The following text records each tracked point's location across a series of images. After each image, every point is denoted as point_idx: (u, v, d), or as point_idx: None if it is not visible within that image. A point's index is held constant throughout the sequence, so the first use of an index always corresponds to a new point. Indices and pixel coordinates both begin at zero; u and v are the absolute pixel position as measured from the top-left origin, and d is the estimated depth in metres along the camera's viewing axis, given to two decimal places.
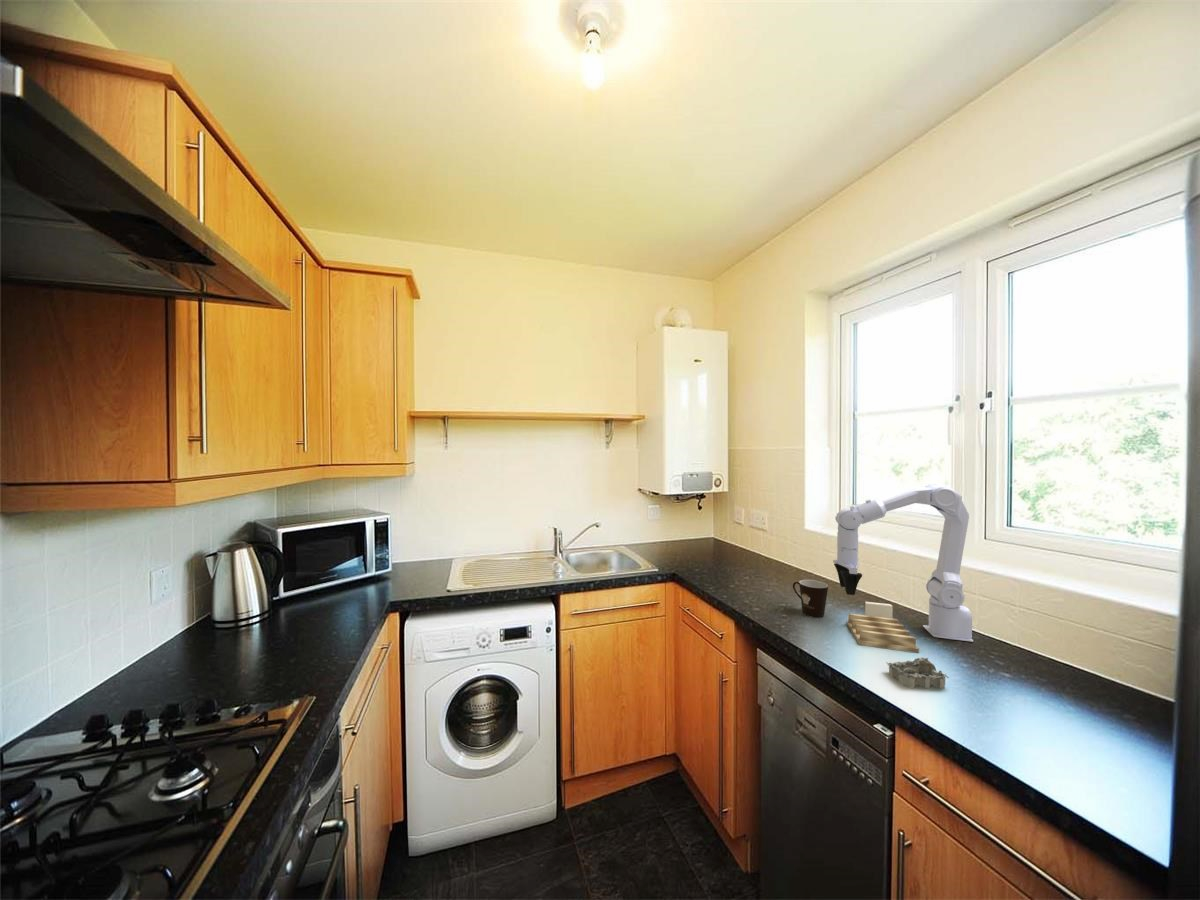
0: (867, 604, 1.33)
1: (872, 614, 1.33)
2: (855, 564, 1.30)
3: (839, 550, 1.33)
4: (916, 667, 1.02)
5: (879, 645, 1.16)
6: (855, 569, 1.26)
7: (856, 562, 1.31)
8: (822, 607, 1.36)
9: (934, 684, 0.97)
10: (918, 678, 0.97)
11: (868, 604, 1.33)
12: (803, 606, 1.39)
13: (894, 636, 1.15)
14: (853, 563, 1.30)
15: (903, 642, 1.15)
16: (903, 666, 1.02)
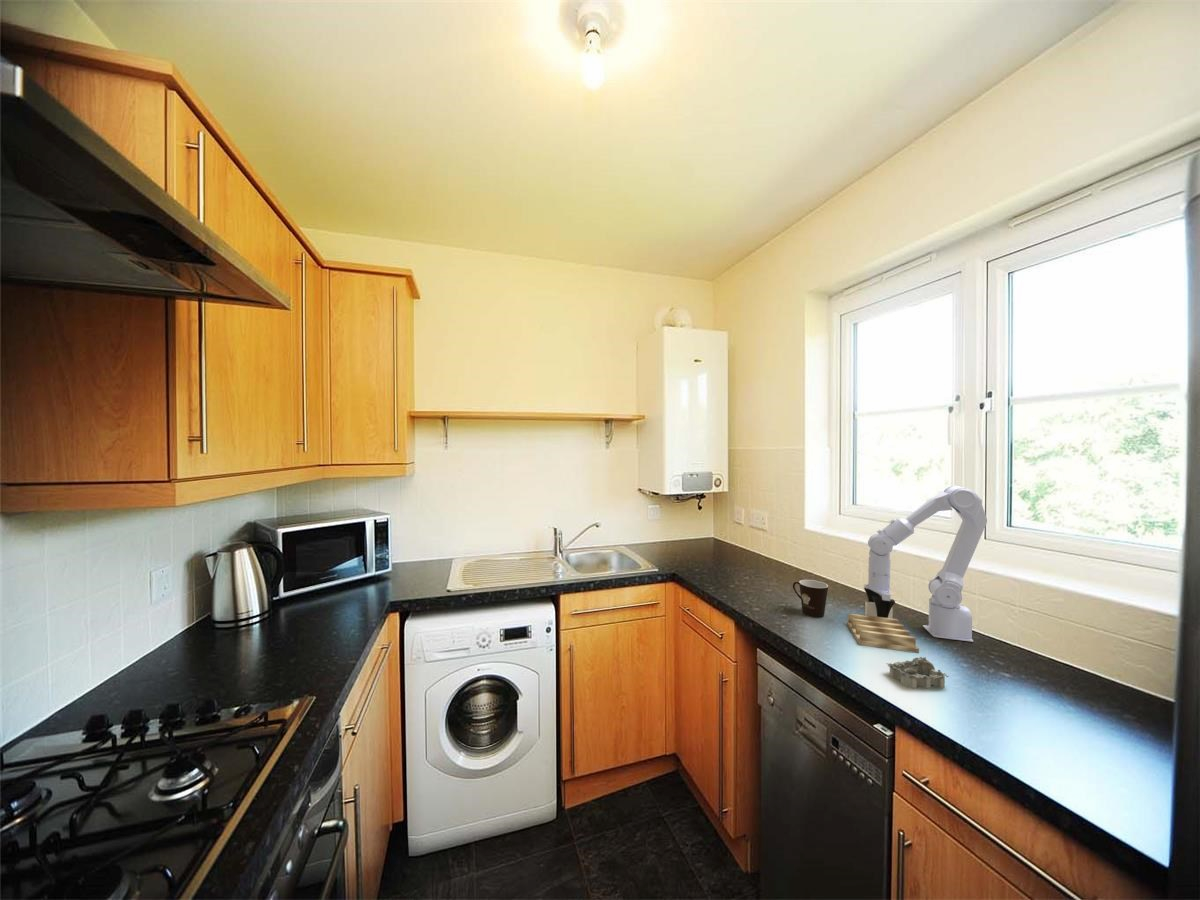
0: (867, 604, 1.33)
1: (872, 614, 1.33)
2: (887, 590, 1.30)
3: (871, 575, 1.32)
4: (915, 667, 1.02)
5: (879, 645, 1.16)
6: (888, 596, 1.26)
7: (888, 588, 1.30)
8: (822, 607, 1.36)
9: (934, 684, 0.97)
10: (919, 678, 0.97)
11: (868, 604, 1.33)
12: (803, 606, 1.39)
13: (894, 636, 1.15)
14: (885, 589, 1.30)
15: (903, 642, 1.15)
16: (903, 666, 1.02)
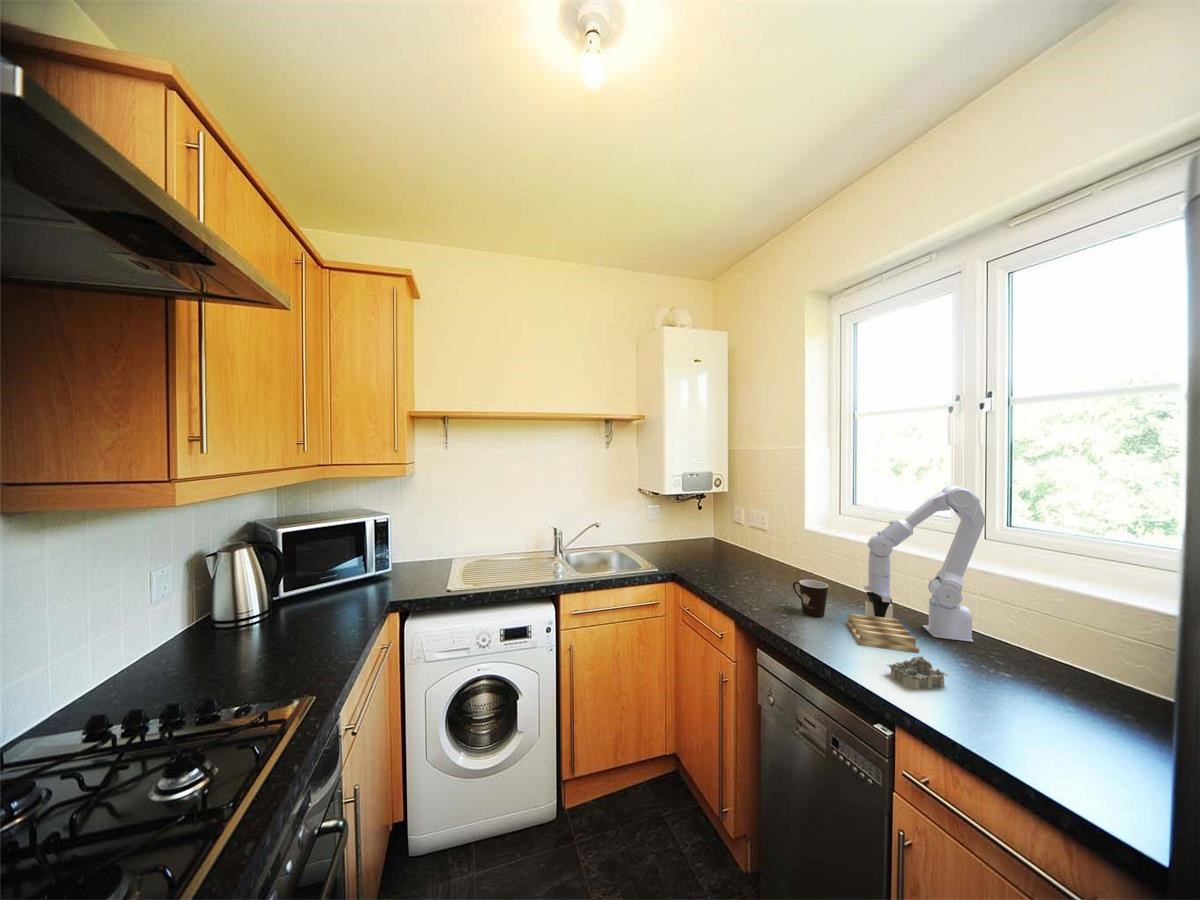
0: (867, 604, 1.33)
1: (872, 614, 1.33)
2: (887, 591, 1.30)
3: (871, 577, 1.32)
4: (914, 667, 1.02)
5: (879, 645, 1.16)
6: (888, 597, 1.26)
7: (888, 589, 1.30)
8: (822, 607, 1.36)
9: (934, 683, 0.97)
10: (920, 678, 0.97)
11: (868, 604, 1.33)
12: (803, 606, 1.39)
13: (894, 636, 1.15)
14: (885, 590, 1.30)
15: (903, 642, 1.15)
16: (903, 667, 1.01)
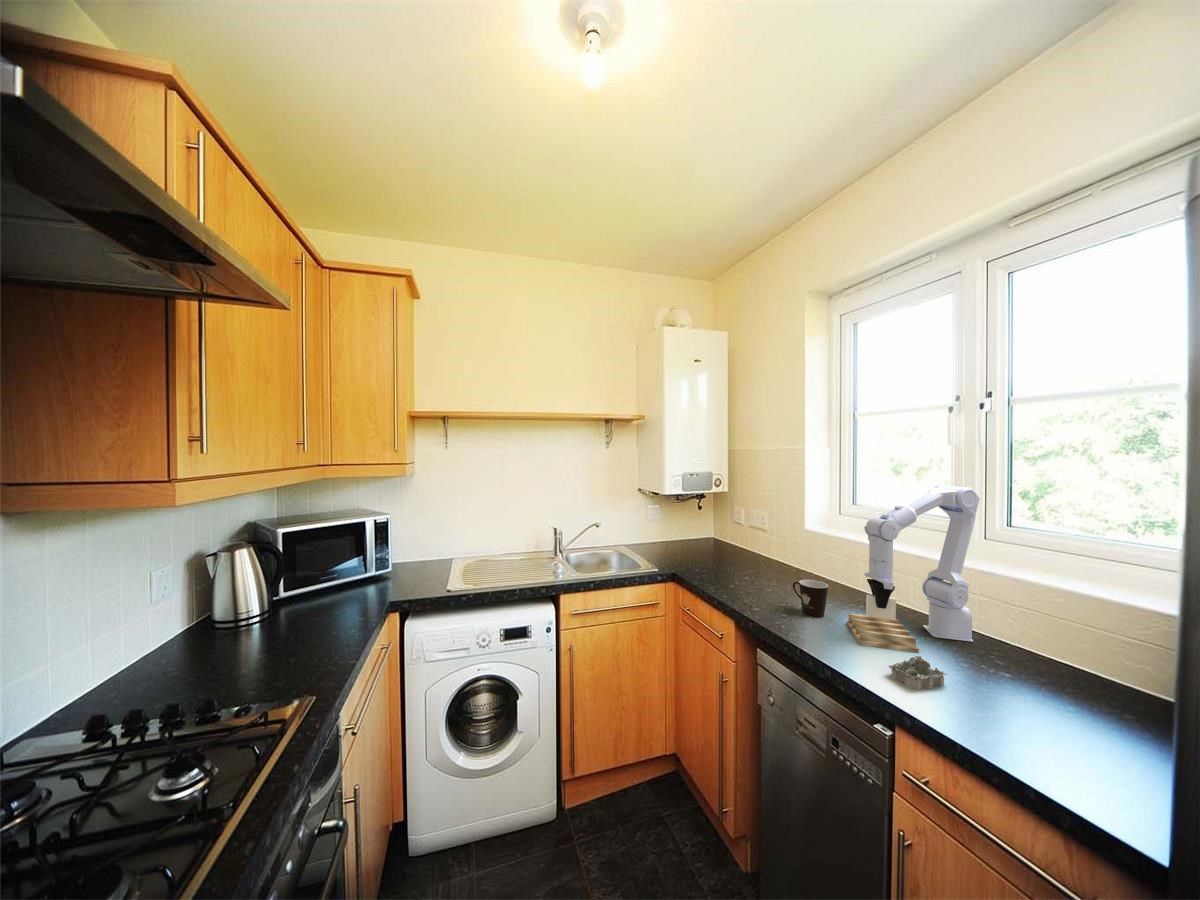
0: (868, 597, 1.23)
1: (874, 608, 1.22)
2: (890, 578, 1.19)
3: (871, 562, 1.22)
4: (913, 667, 1.02)
5: (879, 645, 1.16)
6: (891, 584, 1.15)
7: (891, 576, 1.20)
8: (822, 607, 1.36)
9: (934, 683, 0.98)
10: (921, 679, 0.97)
11: (869, 597, 1.22)
12: (803, 606, 1.39)
13: (894, 636, 1.15)
14: (887, 577, 1.19)
15: (903, 642, 1.15)
16: (903, 667, 1.01)
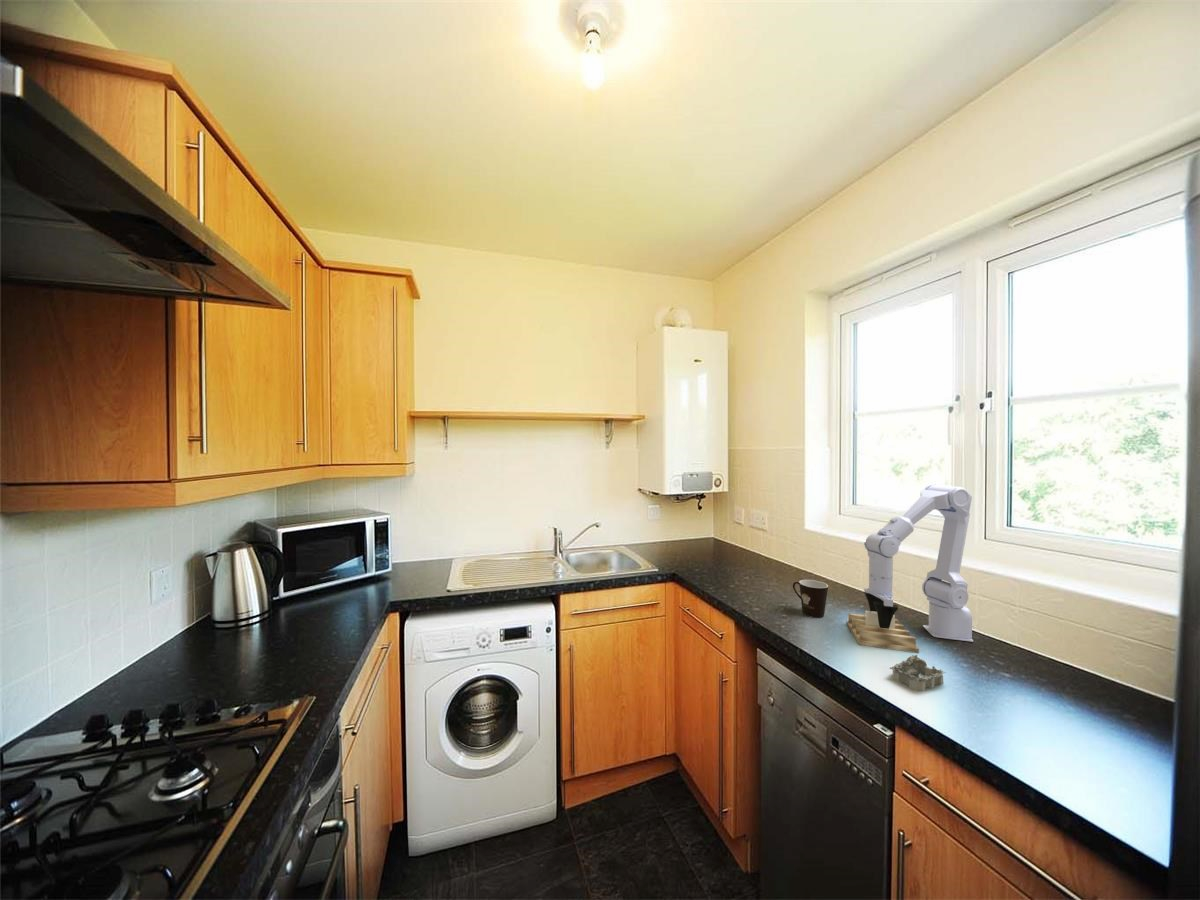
0: (867, 613, 1.23)
1: (873, 624, 1.22)
2: (889, 595, 1.19)
3: (871, 579, 1.22)
4: (911, 667, 1.02)
5: (879, 645, 1.16)
6: (890, 601, 1.15)
7: (890, 592, 1.20)
8: (822, 607, 1.36)
9: (934, 682, 0.98)
10: (924, 679, 0.97)
11: (868, 613, 1.22)
12: (803, 606, 1.39)
13: (894, 636, 1.15)
14: (887, 593, 1.19)
15: (903, 642, 1.15)
16: (903, 668, 1.01)
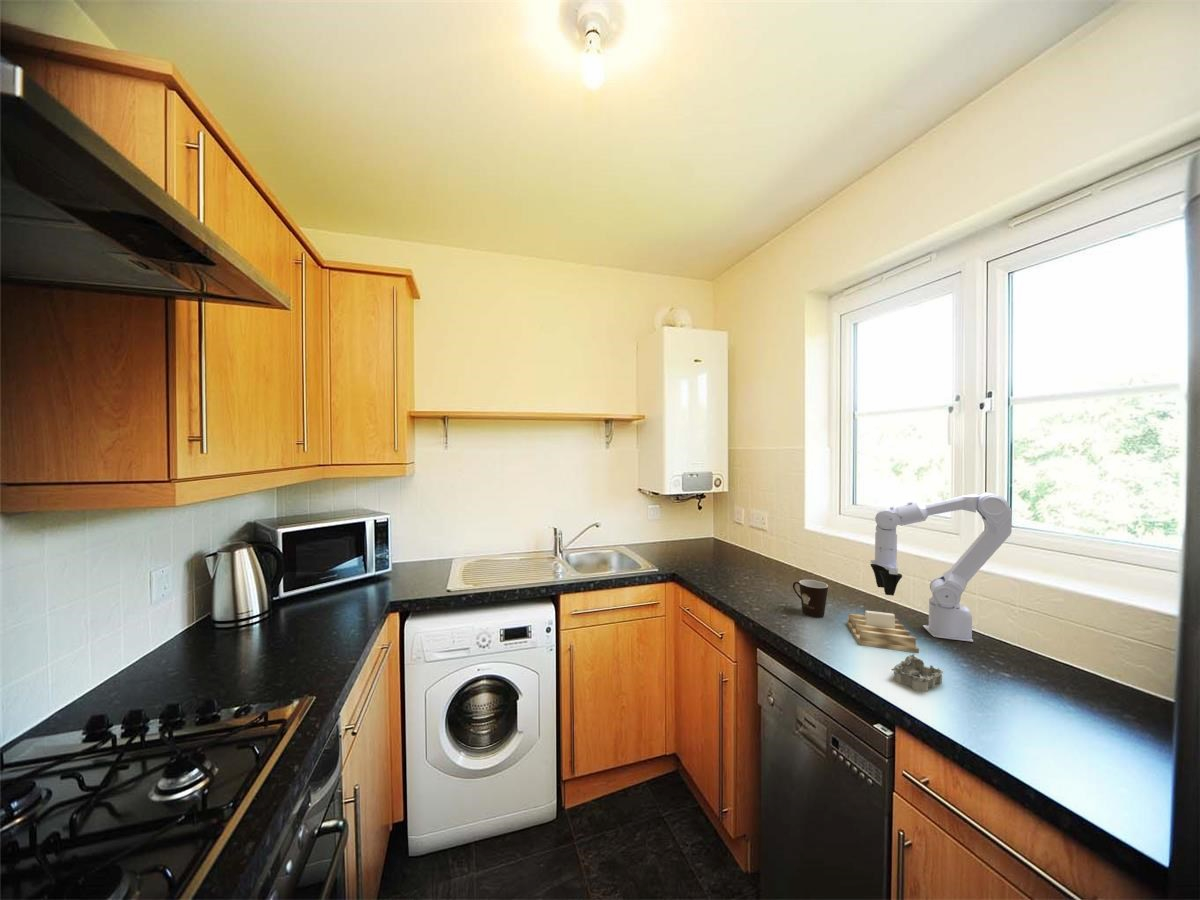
0: (867, 613, 1.23)
1: (873, 624, 1.22)
2: (894, 564, 1.30)
3: (877, 550, 1.33)
4: (910, 666, 1.02)
5: (879, 645, 1.16)
6: (895, 569, 1.26)
7: (895, 562, 1.30)
8: (822, 607, 1.36)
9: None
10: None
11: (868, 613, 1.22)
12: (803, 606, 1.39)
13: (894, 636, 1.15)
14: (892, 563, 1.30)
15: (903, 642, 1.15)
16: (903, 669, 1.01)
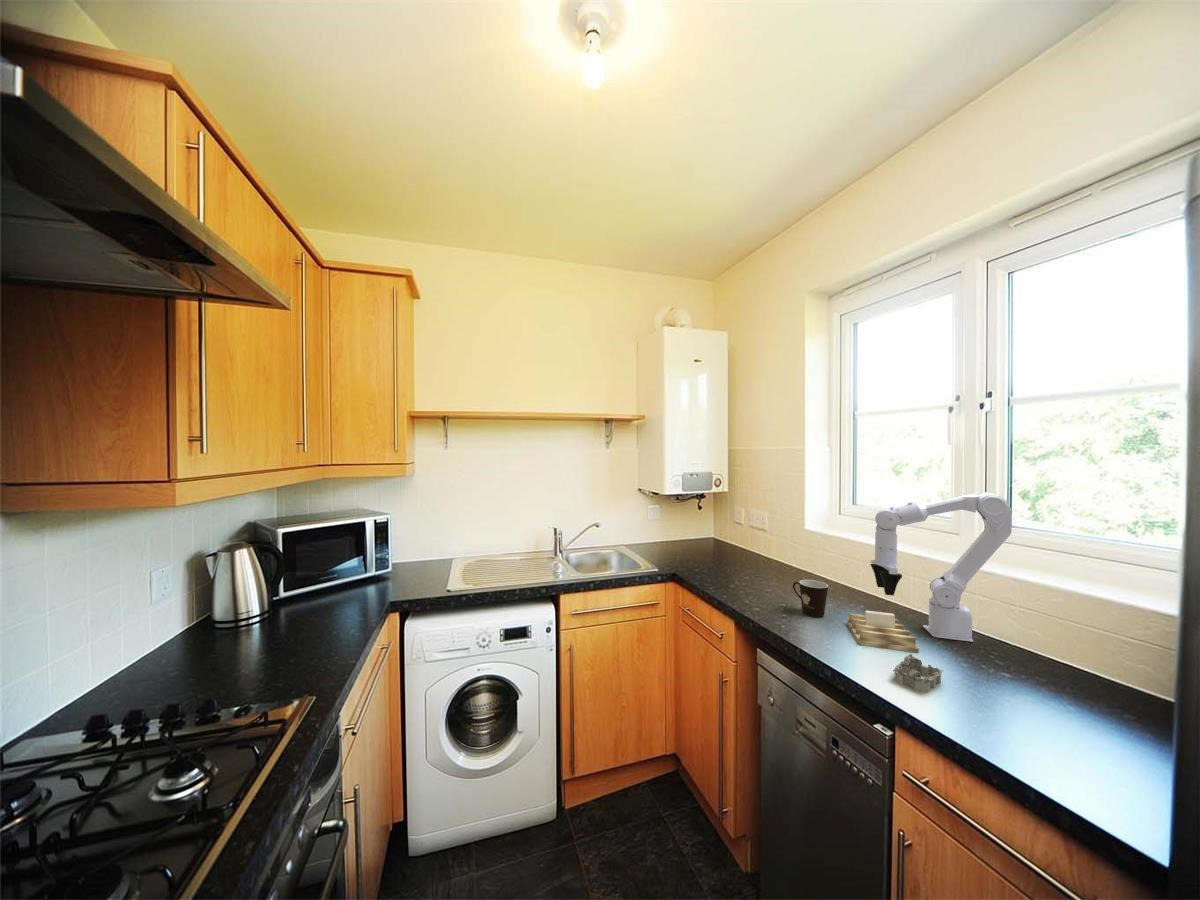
0: (867, 613, 1.23)
1: (873, 624, 1.22)
2: (894, 564, 1.30)
3: (877, 550, 1.33)
4: (909, 666, 1.02)
5: (879, 645, 1.16)
6: (895, 569, 1.26)
7: (895, 562, 1.30)
8: (822, 607, 1.36)
9: None
10: None
11: (868, 613, 1.22)
12: (803, 606, 1.39)
13: (894, 636, 1.15)
14: (892, 563, 1.30)
15: (903, 642, 1.15)
16: (904, 669, 1.00)
